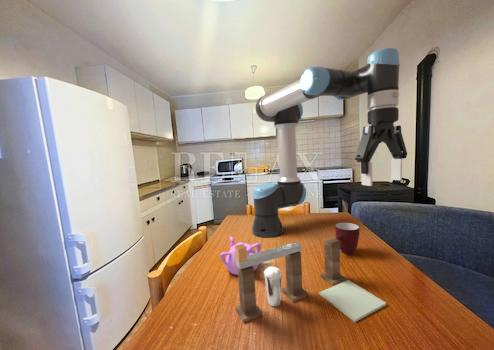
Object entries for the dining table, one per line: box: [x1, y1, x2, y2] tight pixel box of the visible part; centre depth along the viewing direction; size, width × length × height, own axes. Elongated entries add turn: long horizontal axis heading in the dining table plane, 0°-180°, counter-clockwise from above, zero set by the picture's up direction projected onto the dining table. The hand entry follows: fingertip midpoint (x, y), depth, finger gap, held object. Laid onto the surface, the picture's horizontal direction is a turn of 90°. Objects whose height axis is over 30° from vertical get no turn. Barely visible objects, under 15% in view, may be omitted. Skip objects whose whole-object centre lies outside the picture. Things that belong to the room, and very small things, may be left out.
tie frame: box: [234, 237, 346, 323], centre depth 58 cm, size 5×33×12 cm, turn 115°
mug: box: [334, 222, 360, 255], centre depth 79 cm, size 10×8×10 cm
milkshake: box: [261, 266, 283, 307], centre depth 56 cm, size 4×5×10 cm
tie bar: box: [235, 241, 303, 269], centre depth 55 cm, size 2×18×5 cm, turn 115°
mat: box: [318, 279, 387, 323], centre depth 55 cm, size 11×11×1 cm
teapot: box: [219, 235, 262, 276], centre depth 74 cm, size 12×14×9 cm
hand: (382, 182), depth 64 cm, fingers open, 13 cm apart
